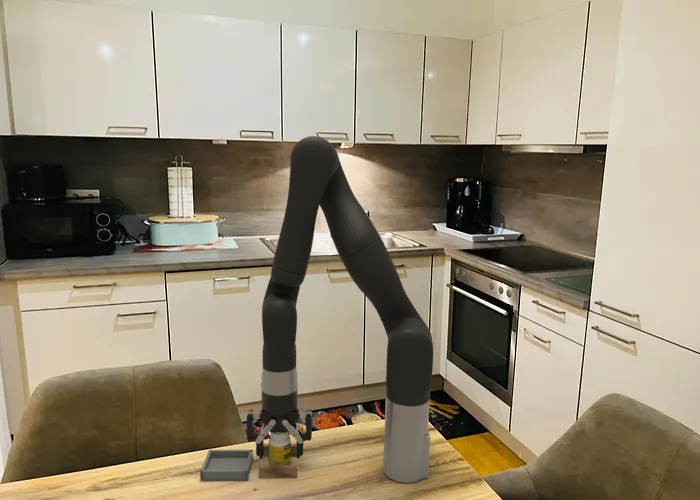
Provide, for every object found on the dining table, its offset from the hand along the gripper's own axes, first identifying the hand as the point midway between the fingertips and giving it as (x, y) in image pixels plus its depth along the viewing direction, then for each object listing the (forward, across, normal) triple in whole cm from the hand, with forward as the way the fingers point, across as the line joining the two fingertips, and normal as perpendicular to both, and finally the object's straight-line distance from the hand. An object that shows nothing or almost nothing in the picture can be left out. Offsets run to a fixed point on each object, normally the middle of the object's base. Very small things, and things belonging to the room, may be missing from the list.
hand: (279, 456), depth 113 cm
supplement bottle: (+2, 0, 0) cm, 2 cm away
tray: (+2, +11, +1) cm, 11 cm away
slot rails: (+2, 0, 0) cm, 2 cm away
